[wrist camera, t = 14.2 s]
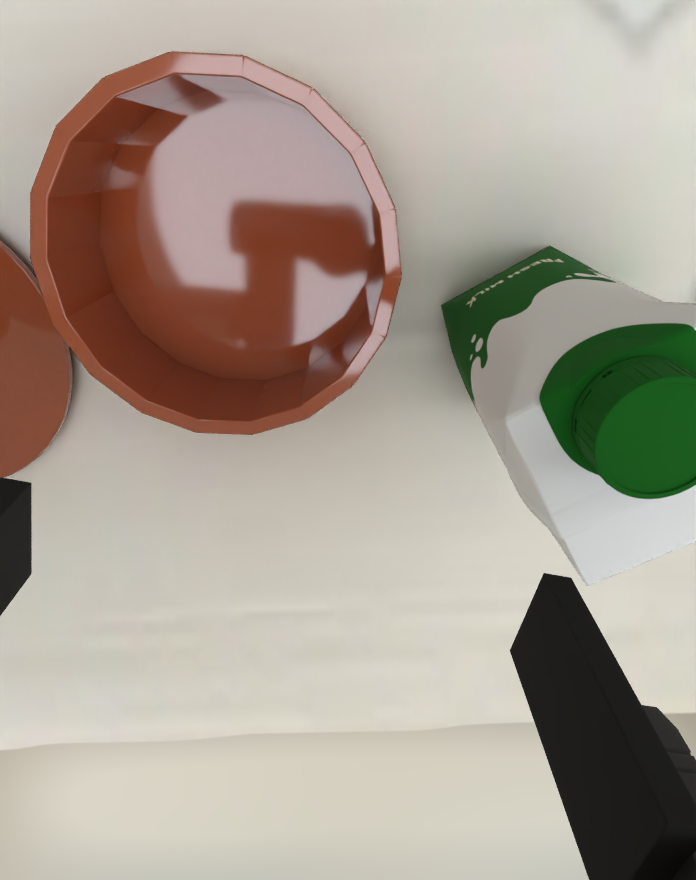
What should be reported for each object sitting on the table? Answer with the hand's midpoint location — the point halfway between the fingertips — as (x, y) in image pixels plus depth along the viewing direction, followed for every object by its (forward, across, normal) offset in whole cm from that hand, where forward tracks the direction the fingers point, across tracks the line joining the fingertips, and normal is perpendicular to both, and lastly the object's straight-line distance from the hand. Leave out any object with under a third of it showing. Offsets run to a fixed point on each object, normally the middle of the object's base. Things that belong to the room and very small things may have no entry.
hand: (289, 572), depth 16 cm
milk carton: (+23, -12, -3) cm, 26 cm away
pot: (+23, +5, -4) cm, 24 cm away
